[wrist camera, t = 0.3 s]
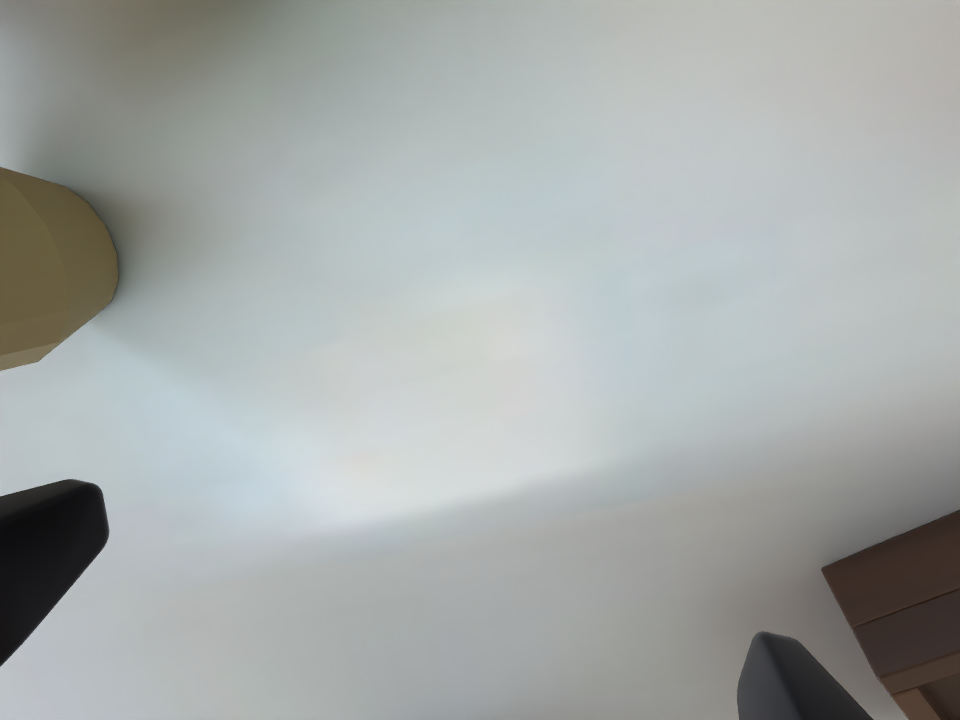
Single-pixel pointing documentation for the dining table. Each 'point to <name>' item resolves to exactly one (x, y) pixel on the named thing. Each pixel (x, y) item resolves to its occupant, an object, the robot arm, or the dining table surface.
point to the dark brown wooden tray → (908, 615)
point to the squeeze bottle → (48, 266)
